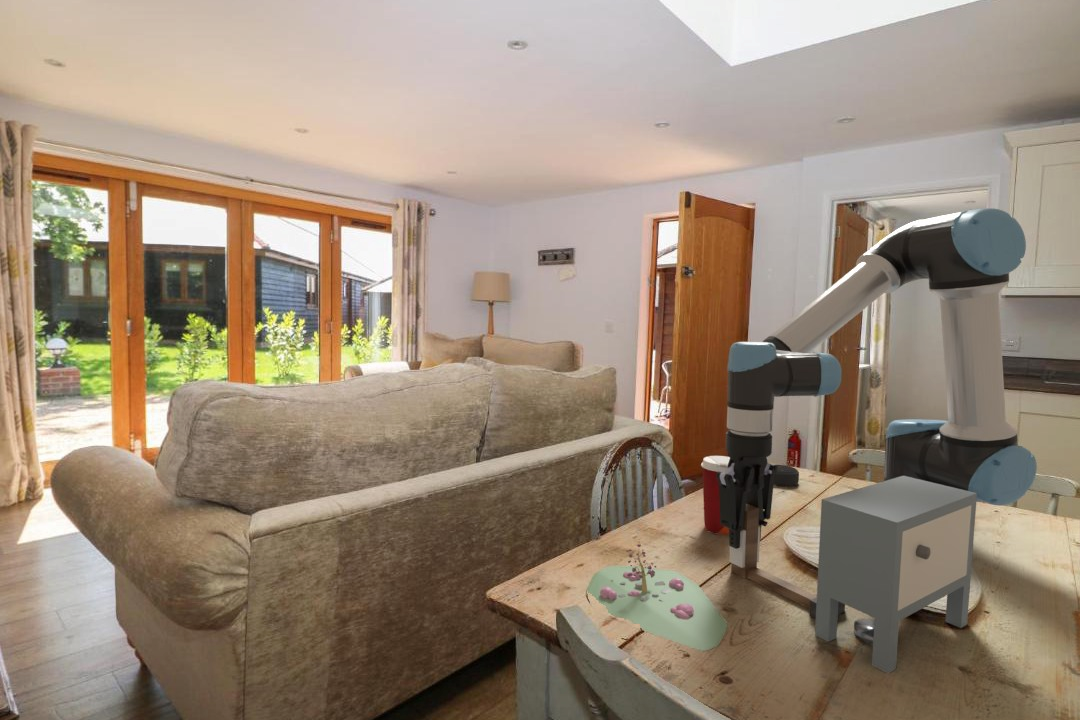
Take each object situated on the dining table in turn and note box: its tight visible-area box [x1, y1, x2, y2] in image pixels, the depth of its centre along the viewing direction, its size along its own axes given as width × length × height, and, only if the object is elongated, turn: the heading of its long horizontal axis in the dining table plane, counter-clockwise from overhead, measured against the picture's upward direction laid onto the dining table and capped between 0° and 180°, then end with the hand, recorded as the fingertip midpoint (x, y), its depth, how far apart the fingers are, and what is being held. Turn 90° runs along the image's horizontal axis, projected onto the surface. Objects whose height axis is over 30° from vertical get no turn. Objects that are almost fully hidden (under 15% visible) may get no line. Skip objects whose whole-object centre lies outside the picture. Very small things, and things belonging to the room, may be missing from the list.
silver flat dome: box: [853, 617, 875, 646], centre depth 80 cm, size 5×5×2 cm
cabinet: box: [814, 476, 977, 674], centre depth 81 cm, size 22×11×20 cm, turn 121°
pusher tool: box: [730, 504, 846, 620], centre depth 93 cm, size 18×6×12 cm, turn 31°
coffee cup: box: [700, 455, 730, 536], centre depth 119 cm, size 8×8×15 cm
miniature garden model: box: [586, 543, 728, 652], centre depth 89 cm, size 25×21×9 cm
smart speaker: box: [773, 464, 800, 487], centre depth 152 cm, size 9×9×4 cm
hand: (744, 561), depth 99 cm, fingers closed on pusher tool, 3 cm apart
